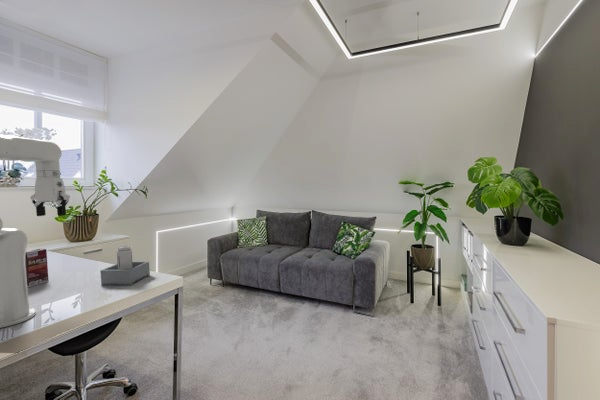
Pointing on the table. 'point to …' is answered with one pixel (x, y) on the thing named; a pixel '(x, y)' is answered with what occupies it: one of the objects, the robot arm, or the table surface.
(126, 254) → the energy drink can
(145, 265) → the desk bin
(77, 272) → the table surface
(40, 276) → the supplement box
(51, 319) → the table surface
